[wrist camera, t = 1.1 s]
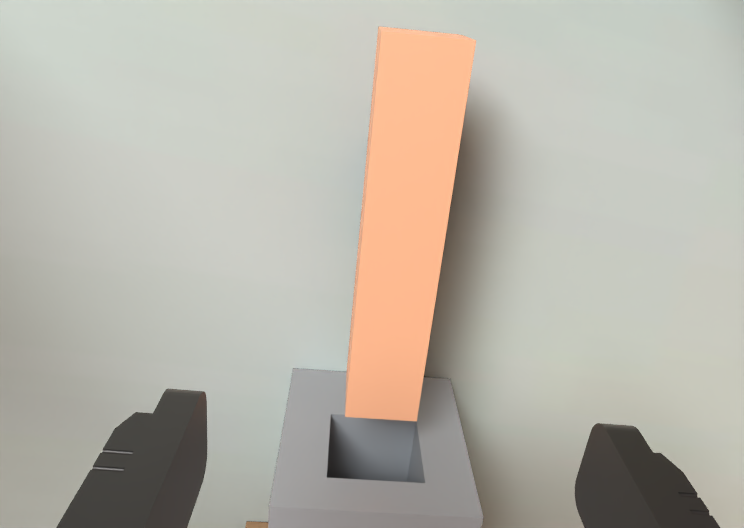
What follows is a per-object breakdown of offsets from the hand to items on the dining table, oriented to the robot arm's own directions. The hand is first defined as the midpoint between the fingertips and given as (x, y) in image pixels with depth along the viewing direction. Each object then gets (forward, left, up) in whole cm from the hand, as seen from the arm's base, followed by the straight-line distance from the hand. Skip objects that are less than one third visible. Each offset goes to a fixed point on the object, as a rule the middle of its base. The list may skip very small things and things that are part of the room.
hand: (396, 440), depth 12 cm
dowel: (+1, +1, -15) cm, 15 cm away
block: (+15, +1, -19) cm, 24 cm away
